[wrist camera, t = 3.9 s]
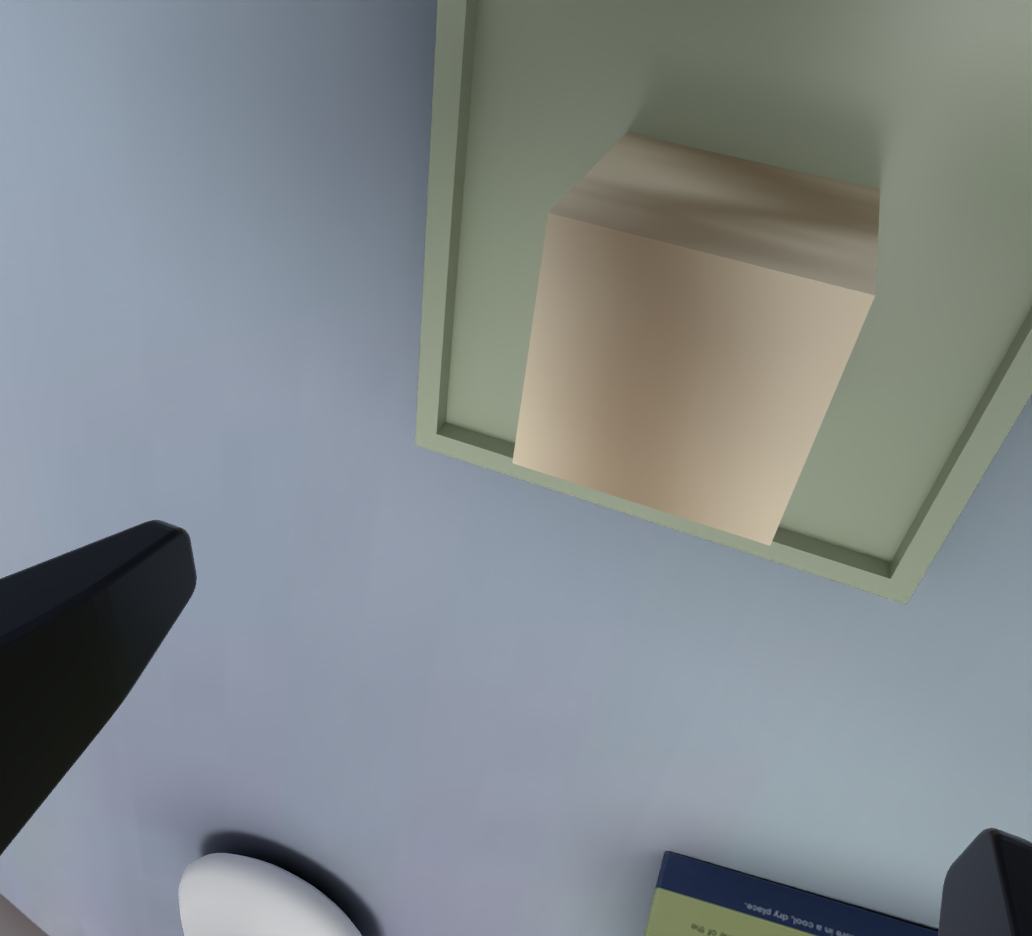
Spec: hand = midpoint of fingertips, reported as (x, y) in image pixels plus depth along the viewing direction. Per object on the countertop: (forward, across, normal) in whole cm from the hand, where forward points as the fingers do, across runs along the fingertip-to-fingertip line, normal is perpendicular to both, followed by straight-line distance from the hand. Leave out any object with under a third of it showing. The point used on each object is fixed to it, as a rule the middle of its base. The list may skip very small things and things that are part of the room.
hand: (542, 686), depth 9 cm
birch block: (+12, 0, 0) cm, 12 cm away
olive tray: (+12, 0, 0) cm, 12 cm away
